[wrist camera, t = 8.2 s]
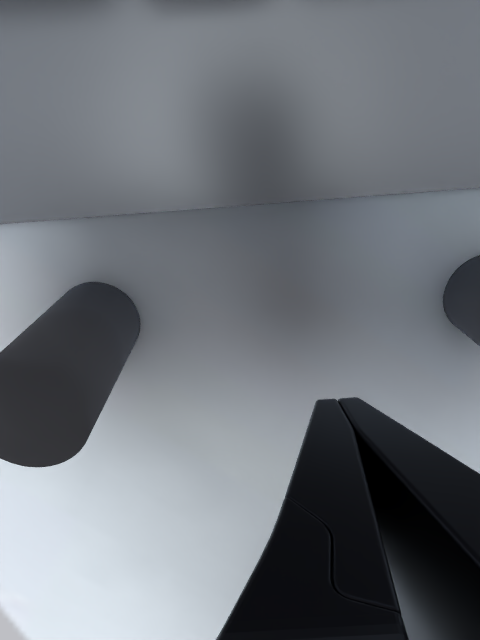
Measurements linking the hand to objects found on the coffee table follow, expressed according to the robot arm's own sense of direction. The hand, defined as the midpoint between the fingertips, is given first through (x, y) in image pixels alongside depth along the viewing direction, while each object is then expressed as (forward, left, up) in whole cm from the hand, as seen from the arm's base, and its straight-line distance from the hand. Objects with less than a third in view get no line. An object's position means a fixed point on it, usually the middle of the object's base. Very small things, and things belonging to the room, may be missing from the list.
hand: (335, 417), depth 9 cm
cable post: (0, +7, -7) cm, 10 cm away
